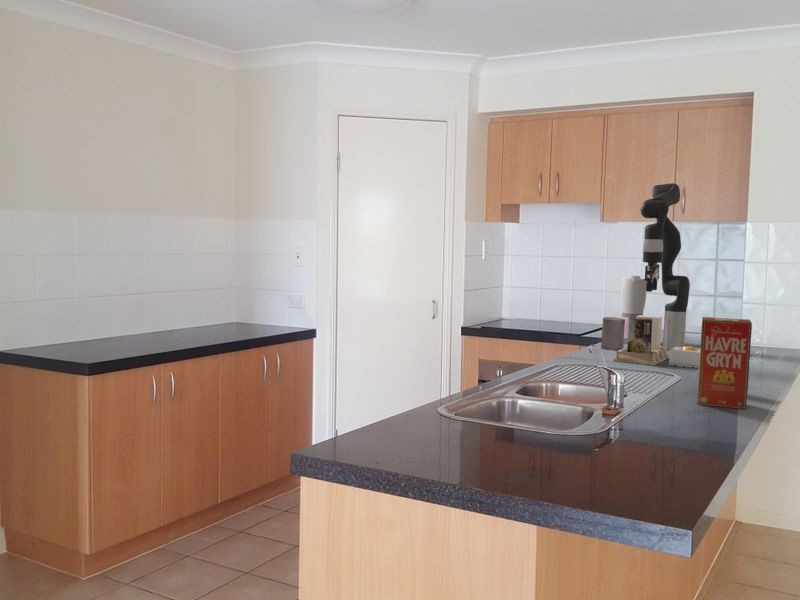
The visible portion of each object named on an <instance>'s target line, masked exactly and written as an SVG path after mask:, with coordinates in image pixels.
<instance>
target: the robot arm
mask: <svg viewBox="0 0 800 600" xmlns="http://www.w3.org/2000/svg"><path fill="white" fill-rule="evenodd" d="M651 191H652V194H651V195H652V198H649V199H646V200H644V201H643V202H642V204H641V205H640V208H639V209H640V210H639V211H640V214H641V216H642V217H643V218H645V219H656V222H655V223H649V224H647V225H645V226H644V240H643V245H642V246H643V250H642V262H643V263H647V265H645V267H644V270H645V271H644V279H645V281H646V293H650V292H653V291H657V290H658V281H659V280H660V264H661V288H662V292H663V293H664V294H665V295H666V296H669V297H671V296H672V297H675V296H676V298H675V300H674V301H672V302H669V303H666V304H665V306H664V318H663V319H664V320H663V337H662V348H668V350H670V349H672V348H674V347H683V346H685V345H686V343H685V341H686V339H685V338H686V328H687V327H686V325H687V324H686V323H687V309H688V306H689V295H690V289H691V284H690V279H689V277H688V276H687V275H686V276H685V275H677V274H676V275H674V273H673V268H674V267H673V266H674V263H675V261H676V259H677V258H678V255H679V254H680V252H681V248H682V240H681V232H680V231H679V229H678V227H676V226H677V225H675V224H674V223H673V222H672V221H671V219H669V217H668V214H669V210H670V207H671V206H673V205H676V204H678V203H679V202H680V200H681V191H680V186H679V185H678V184H677V183H664V184H657V185H653V187H652V190H651ZM659 263H660V264H659Z"/></svg>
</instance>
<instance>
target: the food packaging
mask: <svg viewBox="0 0 800 600" xmlns="http://www.w3.org/2000/svg"><path fill="white" fill-rule="evenodd" d="M700 329H701V330H700V331H701V333H700V346H699V347H700V348H699V349H700V357H699V368H698V372H697V385H696V386H697V387H696V389H697V390H696V391H697V393H696V400H697V405H698V406H706V407H707V406H710V407H715V408H727V409H739V410H747V400H748V392H749V376H750V374H749V373H750V359H751V356H750V355H751V344H752V343H751V341H752V329H753V323H752V321H751V319H747V318H742V319H741V318H724V317H713V316H712V317H710V316H703V317H702V320H701V328H700Z"/></svg>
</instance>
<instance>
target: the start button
mask: <svg viewBox="0 0 800 600" xmlns="http://www.w3.org/2000/svg"><path fill="white" fill-rule="evenodd" d="M696 349H697V347H695V346H688V345H684V346H683V349H682V350H688V351H696Z"/></svg>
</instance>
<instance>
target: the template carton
mask: <svg viewBox="0 0 800 600" xmlns="http://www.w3.org/2000/svg"><path fill="white" fill-rule="evenodd" d="M636 318H647V319H652V342H651V349H652V350H660V347H662V346H661V343H662V342H661V341H662V326H663V324H662V323H663V316H655V315H646V314H645V315H644V314H643V315H639V316H636Z"/></svg>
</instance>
